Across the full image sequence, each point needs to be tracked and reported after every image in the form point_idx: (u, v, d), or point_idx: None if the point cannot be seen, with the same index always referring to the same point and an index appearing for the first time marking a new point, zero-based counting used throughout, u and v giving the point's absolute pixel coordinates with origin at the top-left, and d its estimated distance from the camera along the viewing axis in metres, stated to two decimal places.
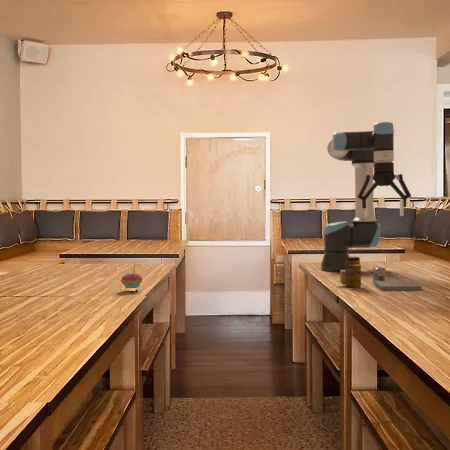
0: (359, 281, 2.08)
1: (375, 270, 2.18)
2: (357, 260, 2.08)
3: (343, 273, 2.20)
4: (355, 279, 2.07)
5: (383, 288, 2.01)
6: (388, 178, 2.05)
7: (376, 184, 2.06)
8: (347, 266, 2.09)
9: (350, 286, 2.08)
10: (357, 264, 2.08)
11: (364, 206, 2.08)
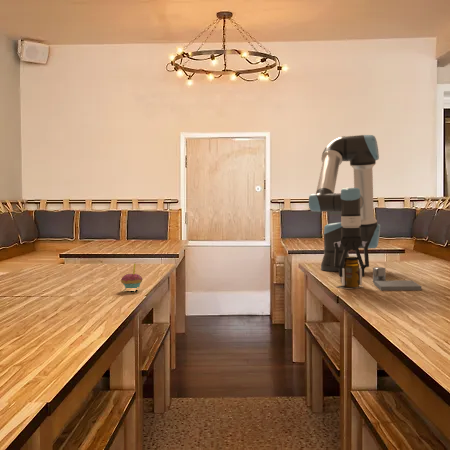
0: (357, 281, 2.08)
1: (375, 270, 2.18)
2: (355, 260, 2.08)
3: None
4: (354, 279, 2.07)
5: (383, 288, 2.01)
6: (355, 243, 2.07)
7: (346, 250, 2.08)
8: (345, 266, 2.09)
9: (348, 286, 2.08)
10: (355, 264, 2.08)
11: (341, 275, 2.10)
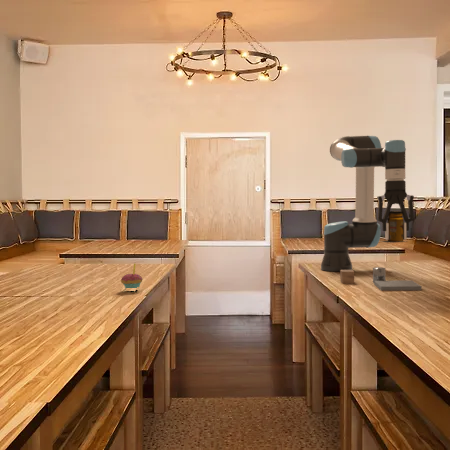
0: (402, 235, 2.05)
1: (375, 270, 2.18)
2: (400, 214, 2.04)
3: (343, 273, 2.20)
4: (398, 233, 2.04)
5: (383, 288, 2.01)
6: (400, 196, 2.04)
7: (390, 204, 2.04)
8: (389, 220, 2.05)
9: (393, 240, 2.05)
10: (400, 218, 2.04)
11: (384, 229, 2.06)
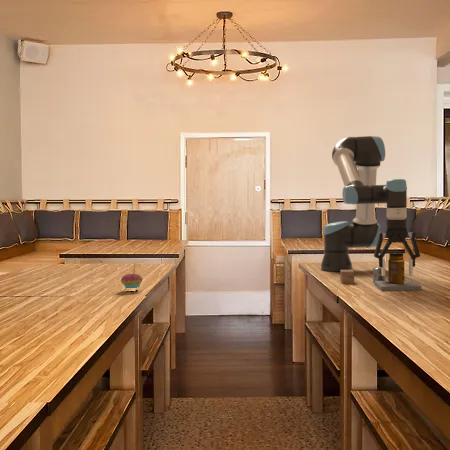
0: (403, 277, 2.06)
1: (375, 270, 2.18)
2: (401, 256, 2.05)
3: (343, 273, 2.20)
4: (399, 275, 2.05)
5: (383, 288, 2.01)
6: (401, 235, 2.04)
7: (390, 242, 2.05)
8: (390, 262, 2.06)
9: (394, 282, 2.06)
10: (401, 260, 2.05)
11: (381, 265, 2.07)
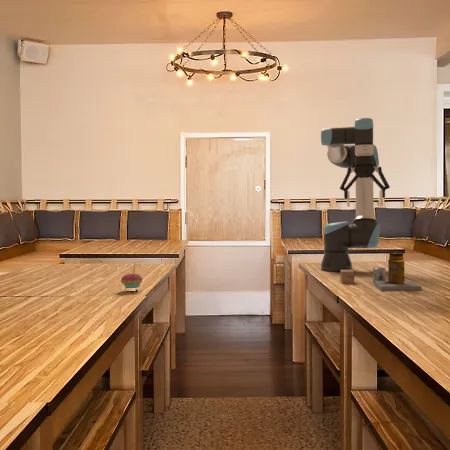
0: (403, 277, 2.06)
1: (375, 270, 2.18)
2: (401, 256, 2.05)
3: (343, 273, 2.20)
4: (399, 275, 2.05)
5: (383, 288, 2.01)
6: (368, 170, 2.20)
7: (357, 176, 2.21)
8: (390, 262, 2.06)
9: (394, 282, 2.06)
10: (401, 260, 2.05)
11: (346, 197, 2.22)
